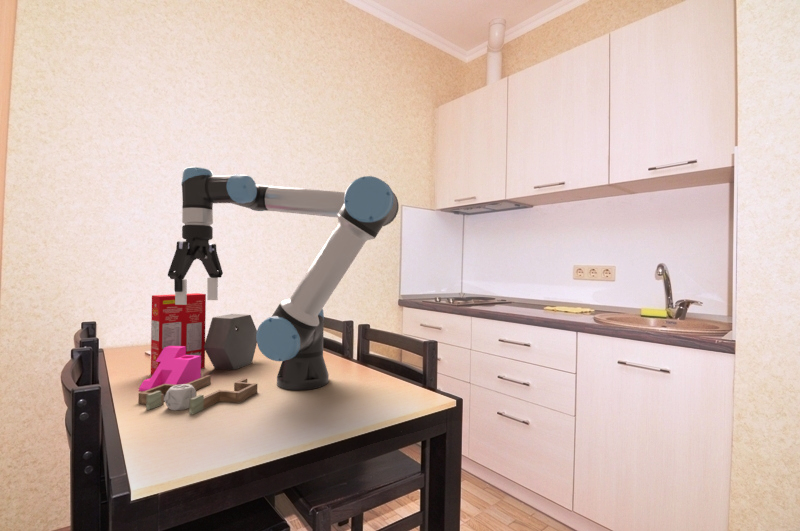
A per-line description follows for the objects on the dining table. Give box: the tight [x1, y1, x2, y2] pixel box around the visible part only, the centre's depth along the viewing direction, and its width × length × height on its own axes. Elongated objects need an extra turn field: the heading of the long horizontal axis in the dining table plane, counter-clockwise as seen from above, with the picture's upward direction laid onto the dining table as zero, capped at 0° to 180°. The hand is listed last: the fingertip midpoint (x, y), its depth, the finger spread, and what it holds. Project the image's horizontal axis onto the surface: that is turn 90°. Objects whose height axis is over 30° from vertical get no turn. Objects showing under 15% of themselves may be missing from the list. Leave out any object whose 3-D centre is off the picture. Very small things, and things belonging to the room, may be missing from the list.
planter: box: [204, 313, 258, 371], centre depth 140 cm, size 17×8×21 cm
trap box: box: [137, 374, 258, 415], centre depth 107 cm, size 24×22×4 cm
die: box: [164, 384, 197, 411], centre depth 100 cm, size 5×5×5 cm
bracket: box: [138, 346, 202, 392], centre depth 117 cm, size 12×10×10 cm
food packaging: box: [150, 292, 207, 376], centre depth 133 cm, size 15×5×25 cm, turn 145°
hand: (197, 302), depth 111 cm, fingers open, 13 cm apart
